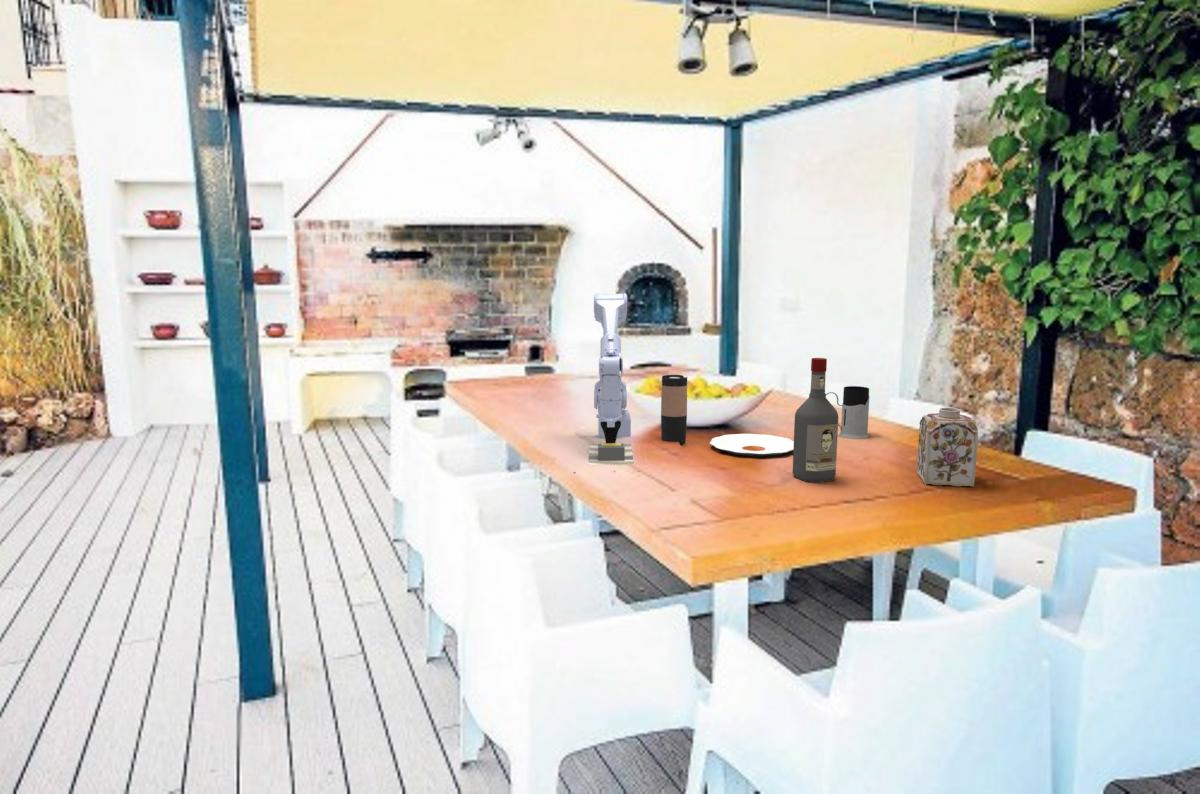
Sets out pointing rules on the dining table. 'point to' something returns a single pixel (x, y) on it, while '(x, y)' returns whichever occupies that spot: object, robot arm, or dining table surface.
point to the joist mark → (597, 458)
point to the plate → (753, 444)
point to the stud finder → (611, 452)
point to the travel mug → (674, 408)
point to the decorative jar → (947, 448)
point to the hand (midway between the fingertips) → (610, 447)
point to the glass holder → (854, 412)
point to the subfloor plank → (594, 452)
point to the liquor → (816, 431)
